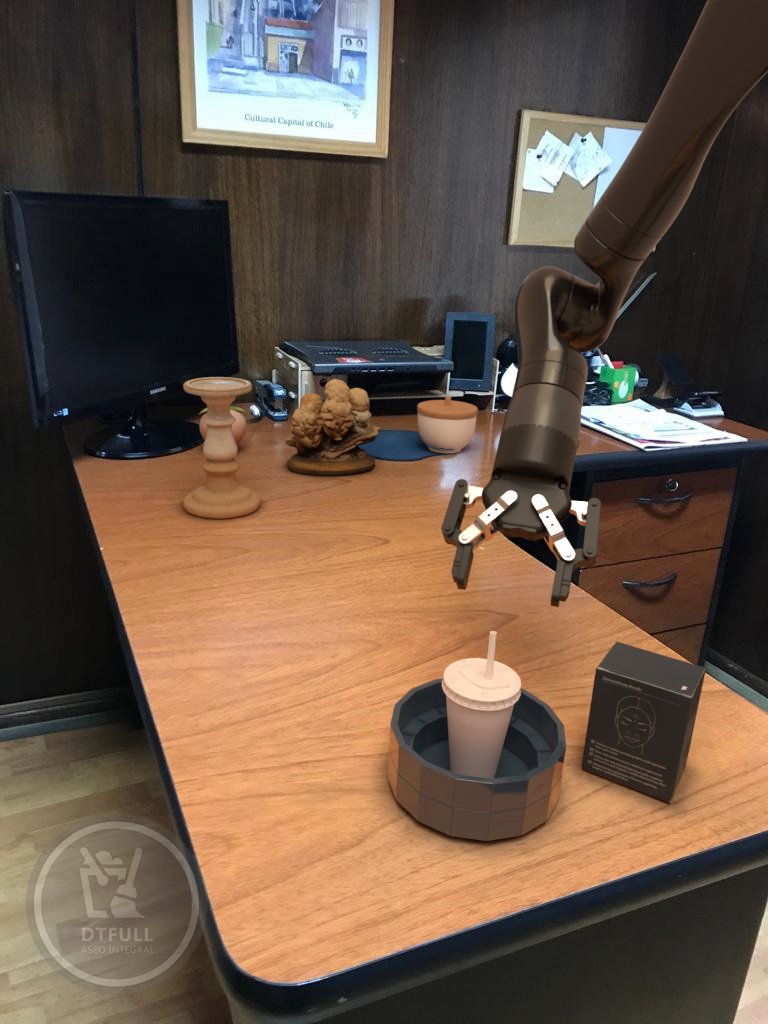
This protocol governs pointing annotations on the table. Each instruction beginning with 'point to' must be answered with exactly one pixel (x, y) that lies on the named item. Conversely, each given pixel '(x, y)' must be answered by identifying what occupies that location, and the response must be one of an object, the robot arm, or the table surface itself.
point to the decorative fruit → (237, 427)
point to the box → (642, 719)
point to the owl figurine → (332, 432)
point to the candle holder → (220, 453)
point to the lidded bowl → (446, 424)
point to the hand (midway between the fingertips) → (507, 595)
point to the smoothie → (479, 711)
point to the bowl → (467, 799)
